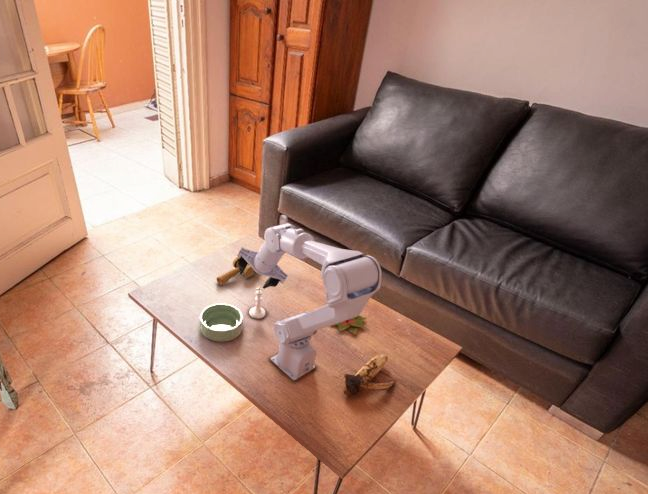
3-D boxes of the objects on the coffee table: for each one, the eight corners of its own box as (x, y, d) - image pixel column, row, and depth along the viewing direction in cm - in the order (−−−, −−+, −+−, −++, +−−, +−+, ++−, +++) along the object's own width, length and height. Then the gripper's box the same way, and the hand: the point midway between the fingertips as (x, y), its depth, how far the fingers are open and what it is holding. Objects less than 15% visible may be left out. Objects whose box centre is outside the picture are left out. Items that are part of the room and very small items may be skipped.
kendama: (229, 294, 140) (268, 267, 147) (225, 278, 136) (265, 252, 143) (214, 286, 145) (253, 261, 153) (210, 271, 141) (249, 246, 149)
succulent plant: (372, 319, 129) (376, 307, 126) (358, 341, 122) (361, 329, 119) (335, 304, 134) (338, 293, 131) (319, 325, 127) (322, 313, 124)
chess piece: (264, 319, 128) (266, 293, 122) (248, 317, 129) (249, 290, 123) (266, 309, 132) (268, 283, 126) (250, 307, 133) (252, 281, 126)
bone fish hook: (365, 413, 103) (404, 374, 112) (370, 402, 100) (409, 362, 109) (334, 390, 108) (373, 354, 117) (338, 378, 105) (378, 343, 114)
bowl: (250, 331, 124) (251, 319, 121) (216, 348, 119) (216, 337, 116) (225, 309, 132) (225, 298, 129) (192, 325, 126) (191, 313, 123)
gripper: (299, 259, 111) (280, 281, 123) (251, 230, 111) (238, 255, 123) (288, 279, 108) (270, 300, 120) (239, 249, 108) (226, 273, 120)
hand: (253, 278), depth 122 cm, fingers open, 7 cm apart
